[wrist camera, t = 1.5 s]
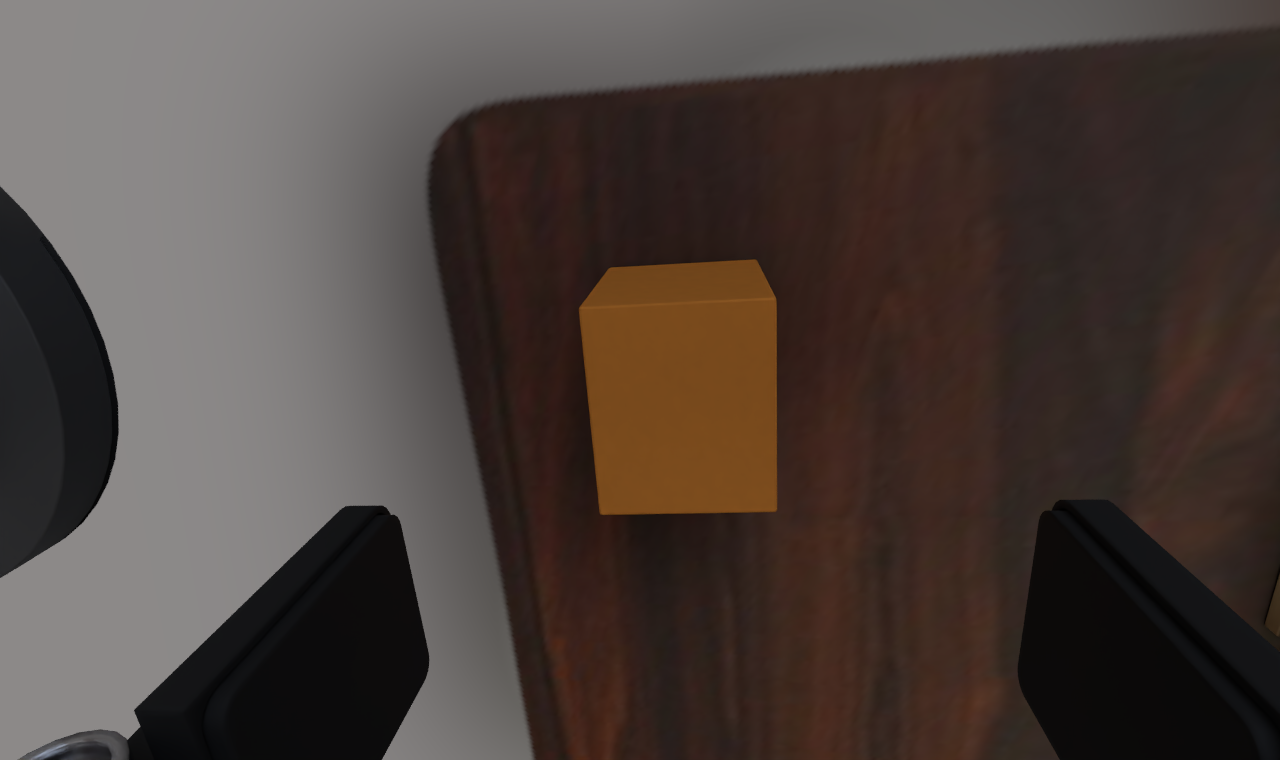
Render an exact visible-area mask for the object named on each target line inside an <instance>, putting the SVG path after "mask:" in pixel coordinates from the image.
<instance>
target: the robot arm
mask: <svg viewBox="0 0 1280 760" xmlns="http://www.w3.org/2000/svg"><path fill="white" fill-rule="evenodd" d="M428 668H429V653H428V648H427V643H426V638H425V634H424V629H423V625H422V620H421V615H420V611H419V607H418V601H417V597H416V592H415V588H414V584H413V578H412V574H411V569H410V564H409V560H408V556H407V551H406V546H405V541H404V537H403V532H402V528H401V524H400V521H399V519H398V517H397V516H395V515H390V513H389V511H388V510H387V508H386V507H384V506H345V507H344V508H342V509H341V510H340V511H339V512H338V513H337V514H336V515H335V516H334V517H333V518H332V519H331V520H330V521H329V522H328V523H326V525H324V527H322V528H321V529H320V530H319V531H318V532H317V533H316V534H315V535H314V536H313V537H312V538H311V539H310V540H309V541H308V542H307V543H306V544H305V545H304V546H303V547H302V548H301V549H300V550H299V551H298V552H297V553H296V554H295V555H293V557H291V558H290V559H289V560H288V561H287V562H286V563H285V564H284V565H283V566H282V567H281V568H280V569H279V570H278V571H277V572H276V573H275V574H274V575H273V576H272V577H271V578H270V579H269V580H268V581H267V582H266V583H265V584H264V585H263V586H262V587H260V589H258V590H257V591H256V592H255V593H254V594H253V595H252V596H251V597H250V598H249V599H248V600H247V601H246V602H245V603H244V604H243V605H242V606H241V607H240V608H239V609H238V610H237V611H236V612H235V613H234V614H233V615H232V616H231V617H230V618H229V619H228V620H226V622H225V623H223V624H222V625H221V626H220V627H219V628H218V629H217V630H216V631H215V632H214V633H213V634H212V635H211V636H210V637H209V638H208V639H207V640H206V641H205V642H204V643H203V644H202V645H201V646H200V647H199V648H198V649H197V650H196V651H195V652H193V653H192V654H191V655H190V656H189V658H187V659H186V660H185V661H184V662H183V663H182V664H181V665H180V666H179V667H178V668H177V669H176V670H175V671H174V672H173V673H172V674H171V675H170V676H169V677H168V678H167V679H166V680H165V681H164V682H163V683H162V684H160V685H159V687H157V688H156V689H155V690H154V691H153V692H152V693H151V694H150V695H149V696H148V697H147V698H146V699H145V700H144V701H143V702H142V703H141V704H140V705H139V706H138V707H137V708H136V709H135V710H134V711H135V714H136V716H137V719H138V721H139V724H140V726H141V727H140V728H139V729H138V730H137V731H136V732H135V733H134V734H133V735H132V736H131V737H130V738H129V739H128V740H127V739H126V738H125V737H123V736H122V735H120V734H119V733H118V732H115V731H108V730H94V731H87V732H80V733H76V734H74V735H70V736H68V737H64V738H61V739H58V740H55V741H53V742H51V743H49V744H47V745H44V746H42V747H40V748H38V749H36V750H34V751H32V752H30V753H28V754H26V755H25V756H23V757H22V758H20V759H18V760H382V758H383V756H384V755H385V753H386V751H387V749H388V747H389V746H390V744H391V741H392V740H393V738H394V736H395V734H396V732H397V731H398V729H399V727H400V725H401V723H402V721H403V720H404V718H405V716H406V714H407V712H408V711H409V709H410V707H411V705H412V703H413V701H414V699H415V697H416V696H417V694H418V692H419V690H420V688H421V687H422V685H423V683H424V681H425V679H426V676H427V672H428ZM1018 678H1019V683H1020V687H1021V690H1022V693H1023V695H1024V697H1025V699H1026V700H1027V702H1028V704H1029V706H1030V708H1031V709H1032V711H1033V713H1034V715H1035V716H1036V718H1037V720H1038V722H1039V724H1040V725H1041V727H1042V729H1043V731H1044V732H1045V734H1046V736H1047V738H1048V739H1049V741H1050V743H1051V745H1052V747H1053V748H1054V750H1055V752H1056V754H1057V755H1058V757H1059V759H1060V760H1280V652H1279V651H1278V650H1277V649H1275V648H1274V647H1273V646H1272V645H1271V644H1270V643H1269V642H1268V641H1266V640H1265V639H1264V638H1263V637H1262V636H1261V635H1260V634H1259V633H1257V632H1256V631H1255V630H1254V629H1253V628H1252V627H1251V626H1250V625H1249V624H1247V623H1246V622H1245V621H1244V620H1243V619H1242V618H1241V617H1240V616H1238V615H1237V614H1236V613H1235V612H1234V611H1233V610H1232V609H1231V608H1229V607H1228V606H1227V605H1226V604H1225V603H1224V602H1223V601H1222V600H1221V599H1219V598H1218V597H1217V596H1216V595H1215V594H1214V593H1213V592H1212V591H1210V590H1209V589H1208V588H1207V587H1206V586H1205V585H1204V584H1203V583H1201V582H1200V581H1199V580H1198V579H1197V578H1196V577H1195V576H1194V575H1193V574H1191V573H1190V572H1189V571H1188V570H1187V569H1186V568H1185V567H1184V566H1182V565H1181V564H1180V563H1179V562H1178V561H1177V560H1176V559H1175V558H1173V557H1172V556H1171V555H1170V554H1169V553H1168V552H1167V551H1166V550H1165V549H1163V548H1162V547H1161V546H1160V545H1159V544H1158V543H1157V542H1156V541H1154V540H1153V539H1152V538H1151V537H1150V536H1149V535H1148V534H1147V533H1146V532H1144V531H1143V530H1142V529H1141V528H1140V527H1139V526H1138V525H1137V524H1135V523H1134V522H1133V521H1132V520H1131V519H1130V518H1129V517H1128V516H1126V515H1125V514H1124V513H1123V512H1122V511H1121V510H1120V509H1119V508H1118V507H1116V506H1115V505H1114V504H1113V503H1111V502H1110V501H1108V500H1059V501H1058V502H1056V503H1055V505H1054V507H1053V509H1052V511H1044V512H1043V513H1042V514H1041V516H1040V519H1039V524H1038V531H1037V538H1036V545H1035V552H1034V559H1033V566H1032V572H1031V579H1030V586H1029V593H1028V600H1027V607H1026V614H1025V620H1024V627H1023V634H1022V641H1021V648H1020V655H1019V662H1018Z"/></svg>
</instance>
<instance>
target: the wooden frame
mask: <svg viewBox="0 0 1280 760" xmlns="http://www.w3.org/2000/svg"><path fill="white" fill-rule="evenodd" d="M1265 626H1266V627H1267V628H1268V629H1270V630H1271V631H1272V632H1273V633H1274V634H1275V635H1277V636H1280V574H1279V577H1278V580H1277V584H1276V587H1275V591H1274V594H1273V598H1272V601H1271V604H1270V608H1269V611H1268V615H1267V618H1266V622H1265Z"/></svg>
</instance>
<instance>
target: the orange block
mask: <svg viewBox="0 0 1280 760" xmlns="http://www.w3.org/2000/svg"><path fill="white" fill-rule="evenodd" d="M579 317H580V326H581V336H582V346H583V356H584V365H585V375H586V385H587V394H588V404H589V414H590V424H591V433H592V443H593V453H594V462H595V472H596V482H597V492H598V501H599V511H600V514H601V515H626V514H684V513H743V512H776V510H777V300H776V297H775V295H774V293H773V291H772V290H771V288H770V286H769V284H768V282H767V280H766V278H765V276H764V274H763V272H762V270H761V268H760V266H759V264H758V262H757V260H755V259H754V260H736V261H719V262H701V263H683V264H666V265H648V266H630V267H612V268H609V269H608V270H607V272H606V273H605V274H604V276H603V277H602V278H601V280H600V281H599V282H598V284H597V285H596V286H595V287H594V289H593V290H592V291H591V293H590V294H589V295H588V297H587V298H586V299H585V301H584V302H583V303H582V305H581V306H580V307H579Z"/></svg>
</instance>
